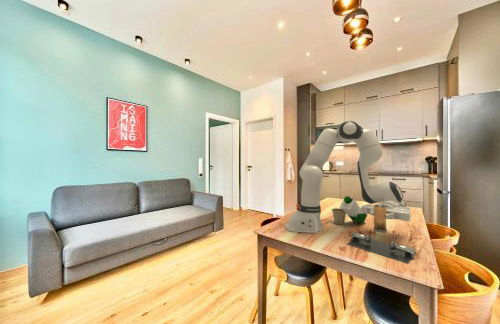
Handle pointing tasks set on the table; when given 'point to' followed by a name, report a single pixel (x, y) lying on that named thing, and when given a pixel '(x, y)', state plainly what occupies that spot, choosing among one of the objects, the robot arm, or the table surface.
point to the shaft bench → (382, 248)
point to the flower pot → (338, 216)
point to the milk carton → (353, 210)
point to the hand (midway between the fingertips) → (379, 215)
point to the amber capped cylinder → (379, 218)
